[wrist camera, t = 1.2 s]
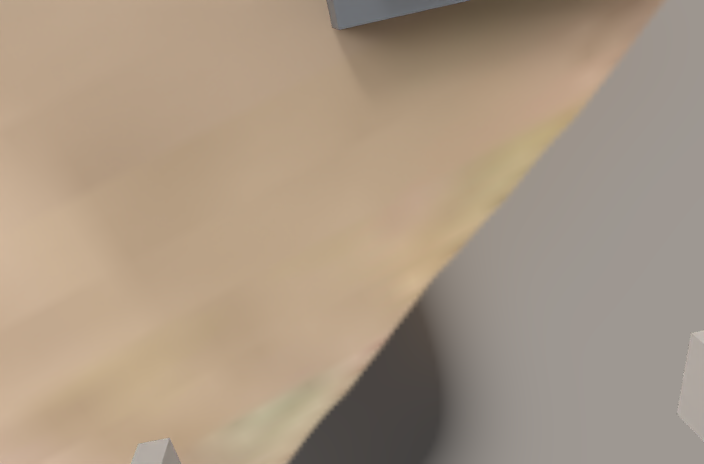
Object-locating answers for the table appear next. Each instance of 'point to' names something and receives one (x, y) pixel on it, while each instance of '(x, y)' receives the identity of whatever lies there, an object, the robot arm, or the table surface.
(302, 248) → the table surface
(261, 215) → the table surface
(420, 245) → the table surface
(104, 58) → the table surface
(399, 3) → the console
